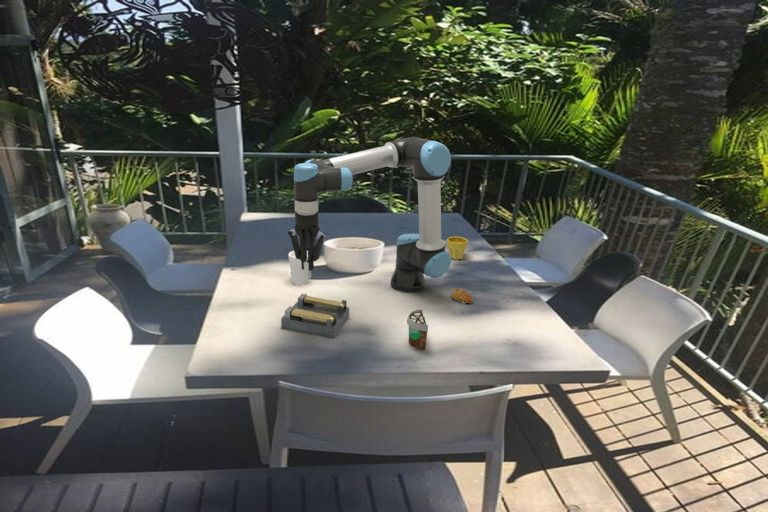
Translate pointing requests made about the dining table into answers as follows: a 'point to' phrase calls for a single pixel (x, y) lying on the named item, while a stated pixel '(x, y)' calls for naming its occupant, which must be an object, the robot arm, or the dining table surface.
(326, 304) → the bar
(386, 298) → the dining table surface
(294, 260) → the foam cup
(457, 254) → the plant pot
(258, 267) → the dining table surface
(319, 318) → the latch bar front
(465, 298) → the pastry
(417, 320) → the iced coffee cup
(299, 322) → the base
